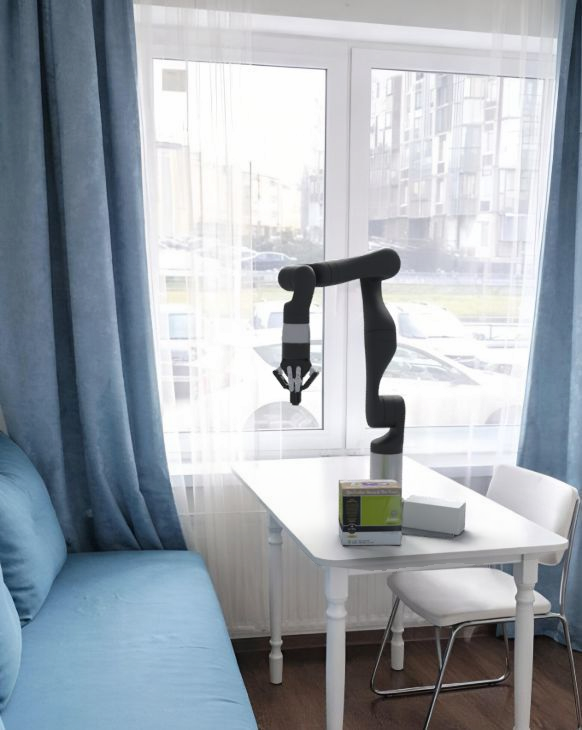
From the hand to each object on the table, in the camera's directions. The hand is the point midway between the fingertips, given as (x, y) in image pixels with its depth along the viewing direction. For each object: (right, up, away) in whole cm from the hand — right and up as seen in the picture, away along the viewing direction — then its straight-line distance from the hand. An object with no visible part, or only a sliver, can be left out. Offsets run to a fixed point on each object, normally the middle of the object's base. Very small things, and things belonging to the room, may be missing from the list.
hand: (295, 405), depth 221 cm
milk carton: (+44, -29, -6) cm, 53 cm away
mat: (+32, -33, -3) cm, 46 cm away
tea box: (+19, -34, -12) cm, 40 cm away
